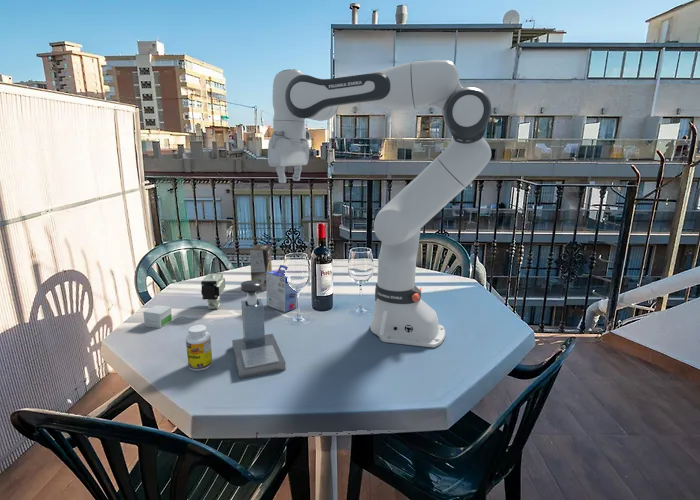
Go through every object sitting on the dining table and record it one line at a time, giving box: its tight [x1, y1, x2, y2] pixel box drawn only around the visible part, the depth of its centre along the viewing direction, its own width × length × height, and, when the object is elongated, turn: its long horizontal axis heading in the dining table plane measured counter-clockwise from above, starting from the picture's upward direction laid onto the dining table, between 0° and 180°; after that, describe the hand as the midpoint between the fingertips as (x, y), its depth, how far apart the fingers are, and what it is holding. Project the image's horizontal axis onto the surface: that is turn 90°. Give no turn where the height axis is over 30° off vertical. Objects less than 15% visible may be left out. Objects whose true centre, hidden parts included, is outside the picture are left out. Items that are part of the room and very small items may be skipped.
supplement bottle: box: [185, 324, 213, 372], centre depth 93 cm, size 6×6×10 cm
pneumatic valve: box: [200, 272, 226, 310], centre depth 127 cm, size 6×12×12 cm, turn 5°
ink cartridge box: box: [265, 264, 297, 313], centre depth 129 cm, size 10×6×14 cm, turn 53°
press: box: [231, 298, 287, 380], centre depth 96 cm, size 16×11×13 cm
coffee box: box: [249, 244, 273, 291], centre depth 148 cm, size 9×6×16 cm
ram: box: [240, 279, 262, 306], centre depth 100 cm, size 5×5×12 cm
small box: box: [142, 304, 173, 329], centre depth 116 cm, size 6×6×5 cm
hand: (289, 181), depth 111 cm, fingers open, 8 cm apart
